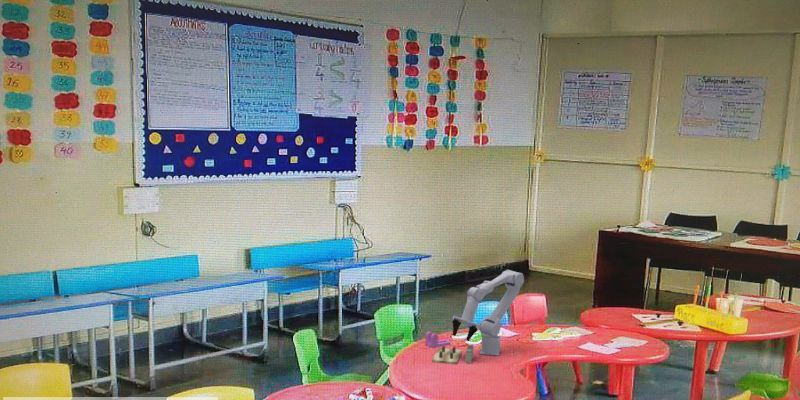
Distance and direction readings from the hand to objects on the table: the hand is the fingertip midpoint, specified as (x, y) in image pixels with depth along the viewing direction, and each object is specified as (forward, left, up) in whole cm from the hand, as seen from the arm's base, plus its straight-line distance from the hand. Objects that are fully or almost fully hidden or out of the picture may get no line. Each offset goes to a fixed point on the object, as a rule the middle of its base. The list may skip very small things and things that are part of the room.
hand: (460, 338), depth 355 cm
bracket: (+13, -20, -10) cm, 26 cm away
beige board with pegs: (+6, -1, -10) cm, 12 cm away
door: (-5, +1, -10) cm, 11 cm away
